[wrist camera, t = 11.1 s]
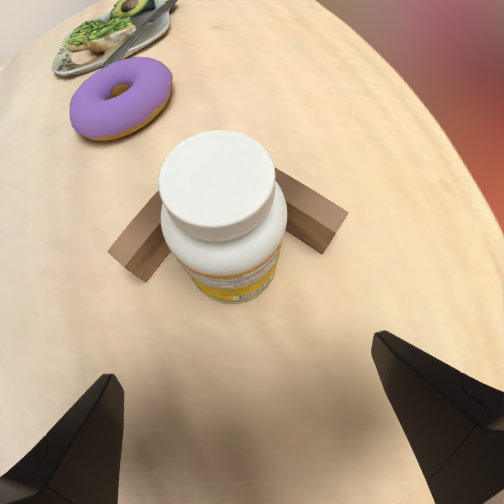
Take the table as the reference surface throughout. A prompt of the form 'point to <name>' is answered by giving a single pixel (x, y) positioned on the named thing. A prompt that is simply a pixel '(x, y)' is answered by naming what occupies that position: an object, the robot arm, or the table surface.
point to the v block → (298, 224)
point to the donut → (120, 98)
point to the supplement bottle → (223, 213)
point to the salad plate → (114, 35)
